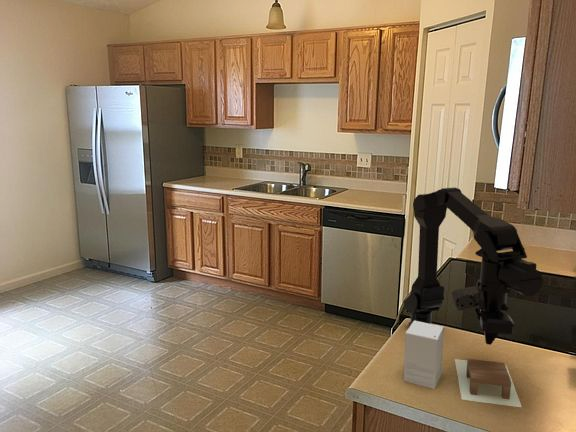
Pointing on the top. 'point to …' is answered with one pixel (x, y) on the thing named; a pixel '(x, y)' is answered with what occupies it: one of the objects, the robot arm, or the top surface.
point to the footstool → (488, 375)
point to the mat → (484, 389)
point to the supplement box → (423, 354)
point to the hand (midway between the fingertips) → (488, 343)
